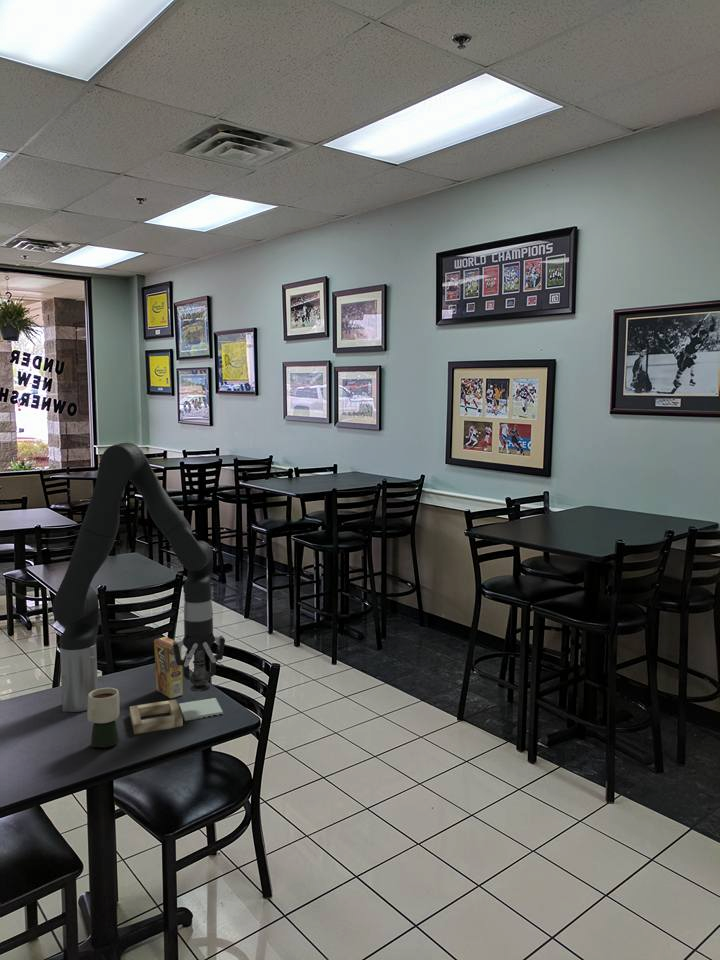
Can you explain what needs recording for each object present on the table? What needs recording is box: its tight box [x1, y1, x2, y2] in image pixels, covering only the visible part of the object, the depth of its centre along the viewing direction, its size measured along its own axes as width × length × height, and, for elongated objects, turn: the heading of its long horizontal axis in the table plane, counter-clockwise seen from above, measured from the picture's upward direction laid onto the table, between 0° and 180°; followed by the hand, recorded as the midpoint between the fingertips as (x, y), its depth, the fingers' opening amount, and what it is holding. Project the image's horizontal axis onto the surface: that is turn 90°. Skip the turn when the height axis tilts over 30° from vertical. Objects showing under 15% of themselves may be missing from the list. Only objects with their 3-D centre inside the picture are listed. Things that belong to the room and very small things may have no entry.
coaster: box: [178, 697, 224, 722], centre depth 192 cm, size 10×10×1 cm
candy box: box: [153, 636, 184, 699], centre depth 203 cm, size 9×4×15 cm, turn 44°
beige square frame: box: [129, 698, 184, 735], centre depth 185 cm, size 12×12×2 cm
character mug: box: [86, 687, 120, 748], centre depth 171 cm, size 11×7×13 cm, turn 161°
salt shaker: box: [189, 650, 212, 693], centre depth 190 cm, size 6×6×12 cm
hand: (199, 676), depth 191 cm, fingers closed on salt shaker, 6 cm apart
